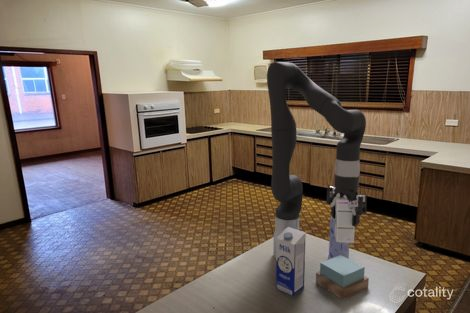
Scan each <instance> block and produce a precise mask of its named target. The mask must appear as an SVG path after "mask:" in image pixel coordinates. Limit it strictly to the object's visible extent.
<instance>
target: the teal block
mask: <svg viewBox="0 0 470 313" xmlns="http://www.w3.org/2000/svg"><path fill="white" fill-rule="evenodd" d="M319 263H320V264H319V271H320V274H322V275H323V276H325V277H327V278H328V279H330V280H332V281H333V282H335V283H337V284H338V285H340V286H342V287H346V286H348V285H350V284H352V283H354V282H357V281H359V280H361V279H363V278H364V276H365V267H366V266H364V265H362V264H359V263H357V262H355V261H354V260H352V259H350V258H349V259H348V258H346V257H344V256H342V255H339V256H337V257H334V258H331V259H329V258H328V259H327V260H324V261H321V262H319Z"/></svg>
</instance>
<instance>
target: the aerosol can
mask: <svg viewBox="0 0 470 313" xmlns="http://www.w3.org/2000/svg"><path fill="white" fill-rule="evenodd" d="M329 219H330V220H329V221H330V222H329V241H328V242H329V243H328V256H327V258H328V260H329V259H331V258H334V257H337V256H339V255H342V256H344V257H346V258H348V259H350V258H349V257H350V255H349V254H350V243H342V242H336V239H335V218H332V216H331V215H330V218H329Z"/></svg>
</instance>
